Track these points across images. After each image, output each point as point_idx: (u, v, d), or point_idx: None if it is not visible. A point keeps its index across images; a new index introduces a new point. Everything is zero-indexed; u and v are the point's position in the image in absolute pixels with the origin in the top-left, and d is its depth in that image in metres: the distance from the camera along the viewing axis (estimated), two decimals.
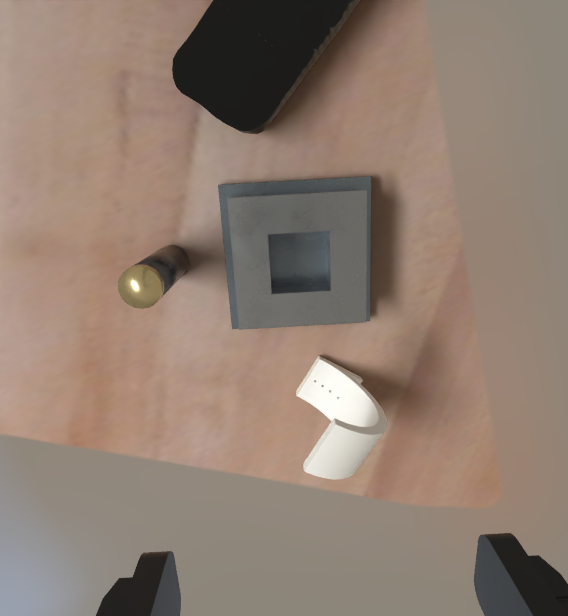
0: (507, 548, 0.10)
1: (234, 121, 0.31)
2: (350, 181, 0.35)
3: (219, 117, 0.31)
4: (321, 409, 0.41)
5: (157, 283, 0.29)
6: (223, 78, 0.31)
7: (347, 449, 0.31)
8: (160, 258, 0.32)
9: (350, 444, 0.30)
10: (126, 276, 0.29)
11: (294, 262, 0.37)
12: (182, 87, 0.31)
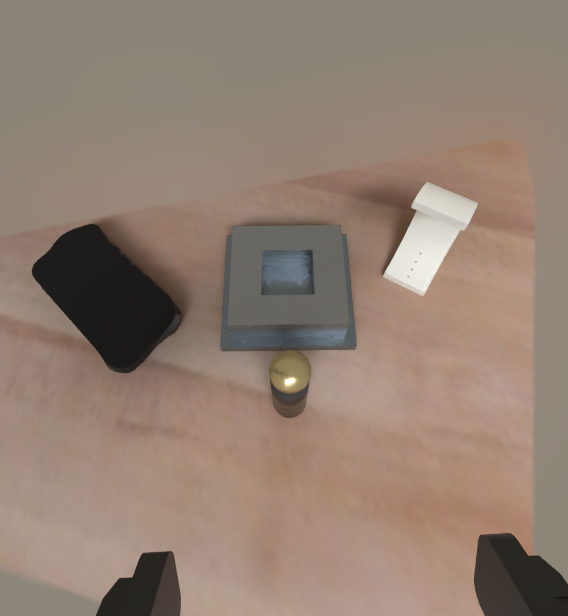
0: (507, 548, 0.10)
1: (166, 322, 0.38)
2: (229, 249, 0.44)
3: (160, 334, 0.38)
4: (435, 268, 0.43)
5: (286, 353, 0.30)
6: (133, 328, 0.38)
7: (440, 195, 0.34)
8: None
9: (435, 193, 0.34)
10: (278, 380, 0.29)
11: (292, 289, 0.42)
12: (132, 361, 0.37)
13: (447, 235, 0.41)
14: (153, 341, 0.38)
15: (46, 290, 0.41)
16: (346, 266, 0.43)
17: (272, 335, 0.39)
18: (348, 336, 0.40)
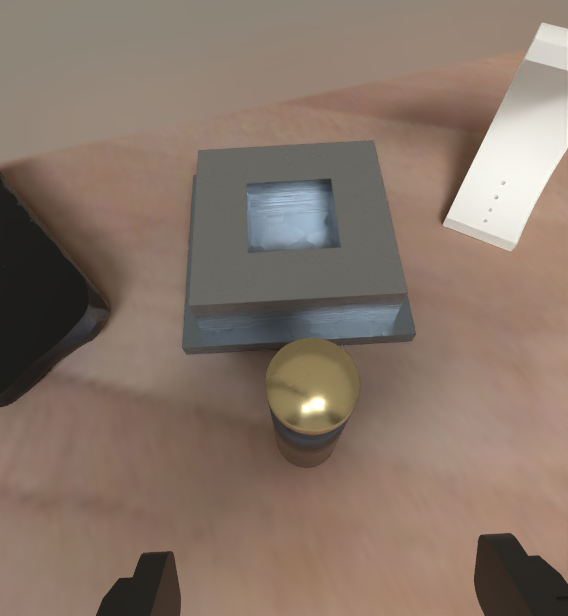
0: (507, 548, 0.10)
1: (69, 321, 0.21)
2: None
3: (56, 341, 0.21)
4: (530, 205, 0.26)
5: (301, 344, 0.14)
6: (12, 328, 0.21)
7: None
8: None
9: None
10: (286, 407, 0.13)
11: (300, 249, 0.26)
12: None
13: (552, 146, 0.25)
14: (41, 353, 0.21)
15: None
16: None
17: (270, 322, 0.23)
18: (400, 318, 0.23)
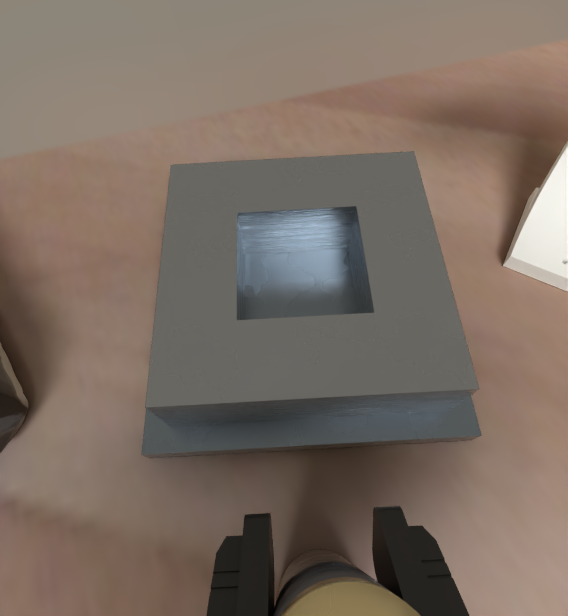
0: (391, 518, 0.11)
1: None
2: None
3: None
4: None
5: (332, 600, 0.07)
6: None
7: None
8: (274, 609, 0.10)
9: None
10: None
11: (312, 301, 0.19)
12: None
13: None
14: None
15: None
16: None
17: (269, 418, 0.16)
18: (456, 410, 0.16)
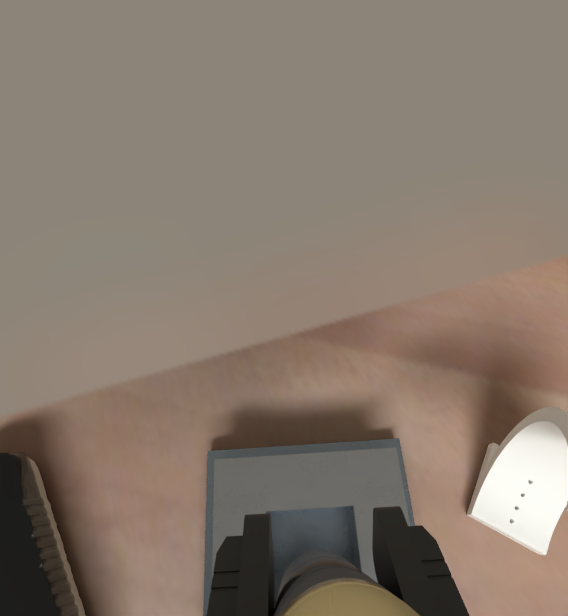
0: (391, 518, 0.11)
1: None
2: (212, 478, 0.27)
3: None
4: (559, 509, 0.25)
5: (332, 601, 0.07)
6: None
7: None
8: (274, 610, 0.10)
9: None
10: None
11: None
12: None
13: None
14: None
15: None
16: (407, 505, 0.26)
17: None
18: None
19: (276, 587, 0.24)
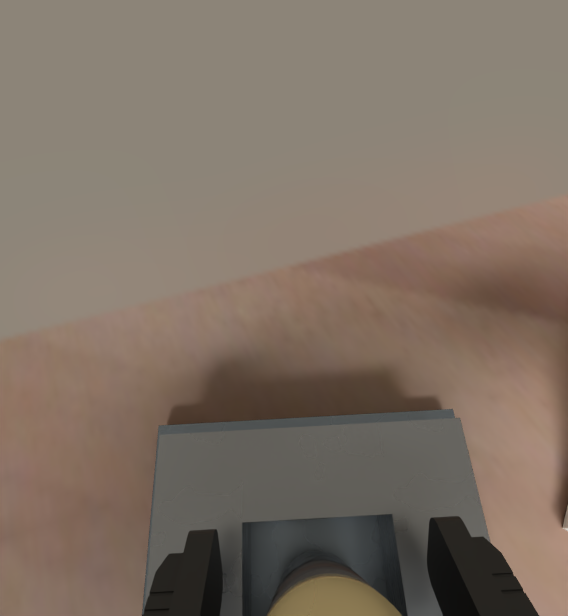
0: (452, 529, 0.10)
1: None
2: None
3: None
4: None
5: (316, 593, 0.07)
6: None
7: None
8: None
9: None
10: None
11: None
12: None
13: None
14: None
15: None
16: None
17: None
18: None
19: None
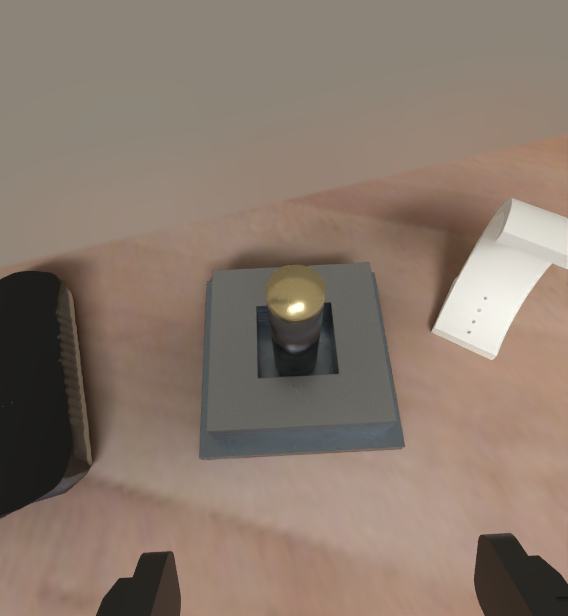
0: (507, 548, 0.10)
1: (41, 488, 0.23)
2: (210, 301, 0.31)
3: (23, 504, 0.23)
4: (509, 319, 0.29)
5: (288, 268, 0.21)
6: None
7: (543, 219, 0.21)
8: None
9: (533, 216, 0.21)
10: (278, 304, 0.20)
11: None
12: None
13: (528, 272, 0.28)
14: (7, 510, 0.23)
15: None
16: (378, 320, 0.30)
17: (277, 435, 0.26)
18: (391, 430, 0.27)
19: (264, 377, 0.28)
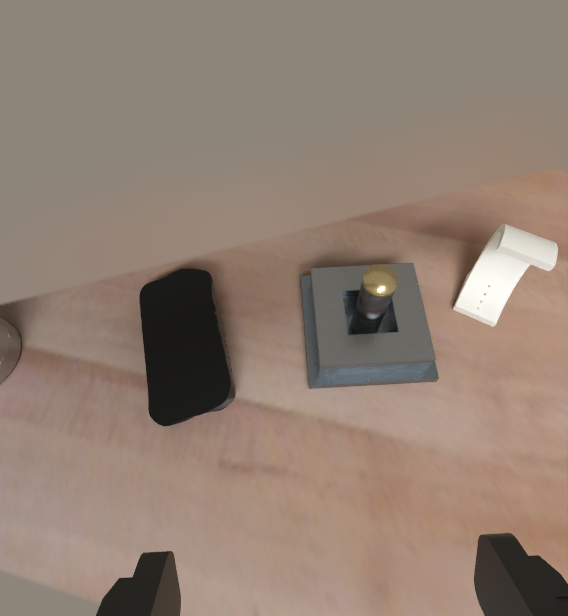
0: (507, 548, 0.10)
1: (214, 403, 0.39)
2: (304, 288, 0.47)
3: (204, 411, 0.38)
4: (504, 300, 0.45)
5: (375, 266, 0.37)
6: (186, 391, 0.39)
7: (523, 237, 0.36)
8: None
9: (517, 236, 0.36)
10: (372, 287, 0.36)
11: None
12: (168, 422, 0.38)
13: (516, 269, 0.43)
14: (194, 414, 0.38)
15: (142, 313, 0.44)
16: None
17: (358, 371, 0.41)
18: (429, 369, 0.42)
19: None
